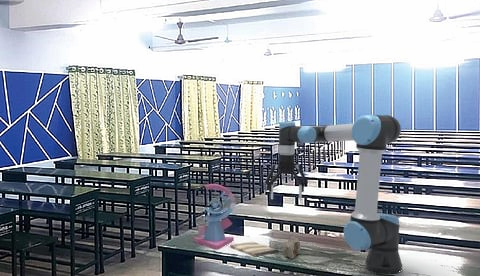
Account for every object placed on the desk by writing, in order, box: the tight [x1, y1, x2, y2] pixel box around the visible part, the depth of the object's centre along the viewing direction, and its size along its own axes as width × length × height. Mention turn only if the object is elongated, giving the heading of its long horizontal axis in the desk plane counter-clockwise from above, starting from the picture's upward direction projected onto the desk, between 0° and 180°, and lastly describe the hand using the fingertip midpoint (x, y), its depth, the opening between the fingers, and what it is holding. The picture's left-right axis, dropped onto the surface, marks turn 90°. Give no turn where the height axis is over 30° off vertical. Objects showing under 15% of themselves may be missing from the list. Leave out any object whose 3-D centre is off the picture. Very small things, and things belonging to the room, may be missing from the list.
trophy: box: [193, 183, 237, 251], centre depth 248 cm, size 20×17×30 cm
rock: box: [283, 235, 301, 260], centre depth 232 cm, size 12×7×10 cm, turn 154°
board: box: [229, 240, 279, 258], centre depth 242 cm, size 20×14×1 cm
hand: (286, 198), depth 241 cm, fingers open, 13 cm apart
